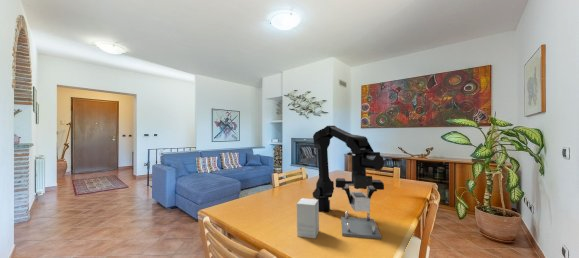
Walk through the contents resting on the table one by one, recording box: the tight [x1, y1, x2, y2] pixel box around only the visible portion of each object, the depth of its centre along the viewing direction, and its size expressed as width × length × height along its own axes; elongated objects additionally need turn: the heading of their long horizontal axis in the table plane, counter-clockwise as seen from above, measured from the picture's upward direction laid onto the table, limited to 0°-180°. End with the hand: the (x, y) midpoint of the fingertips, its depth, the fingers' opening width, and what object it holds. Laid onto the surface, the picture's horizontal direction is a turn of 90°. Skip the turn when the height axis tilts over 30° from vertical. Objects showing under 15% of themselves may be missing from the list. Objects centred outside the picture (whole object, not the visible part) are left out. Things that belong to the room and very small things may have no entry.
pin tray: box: [340, 210, 382, 240], centre depth 92 cm, size 14×17×4 cm
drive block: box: [348, 191, 371, 212], centre depth 93 cm, size 6×10×5 cm, turn 178°
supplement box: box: [296, 197, 320, 240], centre depth 88 cm, size 7×7×13 cm
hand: (358, 204), depth 93 cm, fingers closed on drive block, 6 cm apart
